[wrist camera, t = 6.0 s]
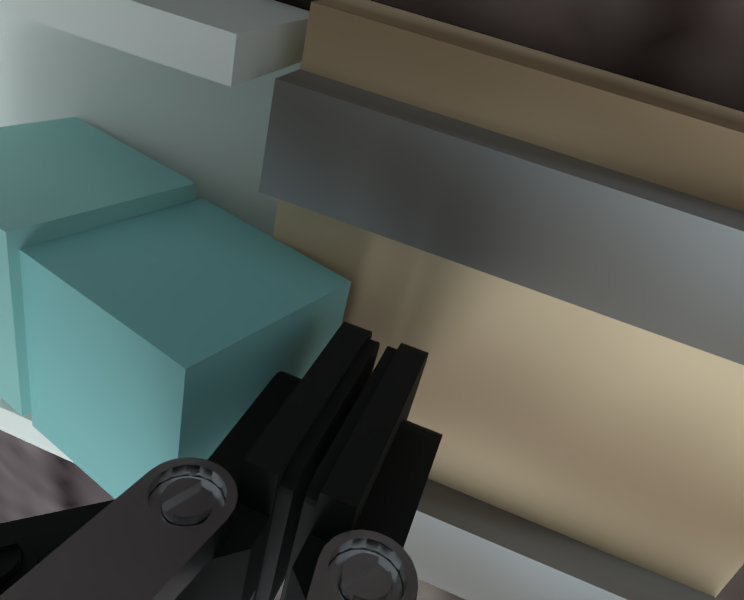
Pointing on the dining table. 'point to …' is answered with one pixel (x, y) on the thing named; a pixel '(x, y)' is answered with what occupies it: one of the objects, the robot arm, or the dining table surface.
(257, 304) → the teal cube block
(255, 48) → the tray
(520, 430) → the slot board
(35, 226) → the light teal cube
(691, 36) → the dining table surface
